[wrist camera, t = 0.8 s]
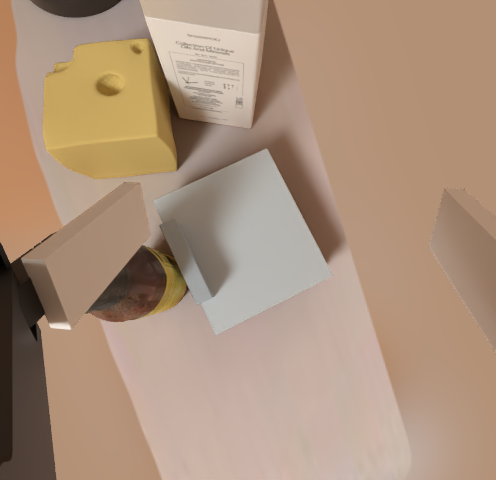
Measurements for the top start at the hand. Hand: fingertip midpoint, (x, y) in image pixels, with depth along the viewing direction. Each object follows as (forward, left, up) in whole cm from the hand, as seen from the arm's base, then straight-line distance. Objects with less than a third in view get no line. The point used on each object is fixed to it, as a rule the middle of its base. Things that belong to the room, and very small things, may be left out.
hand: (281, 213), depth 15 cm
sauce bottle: (-2, -11, -24) cm, 26 cm away
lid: (-2, -1, -20) cm, 20 cm away
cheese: (-19, -7, -24) cm, 31 cm away
